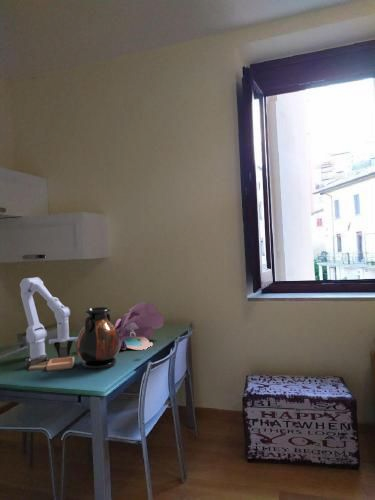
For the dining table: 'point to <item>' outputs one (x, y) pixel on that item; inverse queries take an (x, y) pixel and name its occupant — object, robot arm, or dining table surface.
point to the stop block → (63, 352)
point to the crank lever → (35, 360)
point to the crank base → (39, 365)
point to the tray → (60, 363)
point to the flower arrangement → (139, 326)
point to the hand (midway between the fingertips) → (64, 356)
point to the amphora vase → (98, 340)
